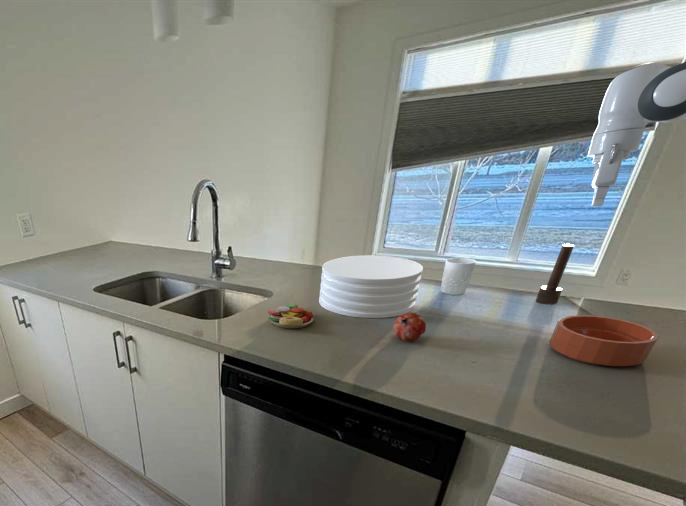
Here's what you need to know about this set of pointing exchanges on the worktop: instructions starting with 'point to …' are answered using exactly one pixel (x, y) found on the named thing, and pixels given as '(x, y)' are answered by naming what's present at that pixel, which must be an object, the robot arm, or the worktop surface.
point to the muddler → (555, 278)
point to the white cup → (457, 275)
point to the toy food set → (291, 316)
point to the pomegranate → (409, 327)
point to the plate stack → (370, 286)
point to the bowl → (603, 340)
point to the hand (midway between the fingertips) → (596, 206)
